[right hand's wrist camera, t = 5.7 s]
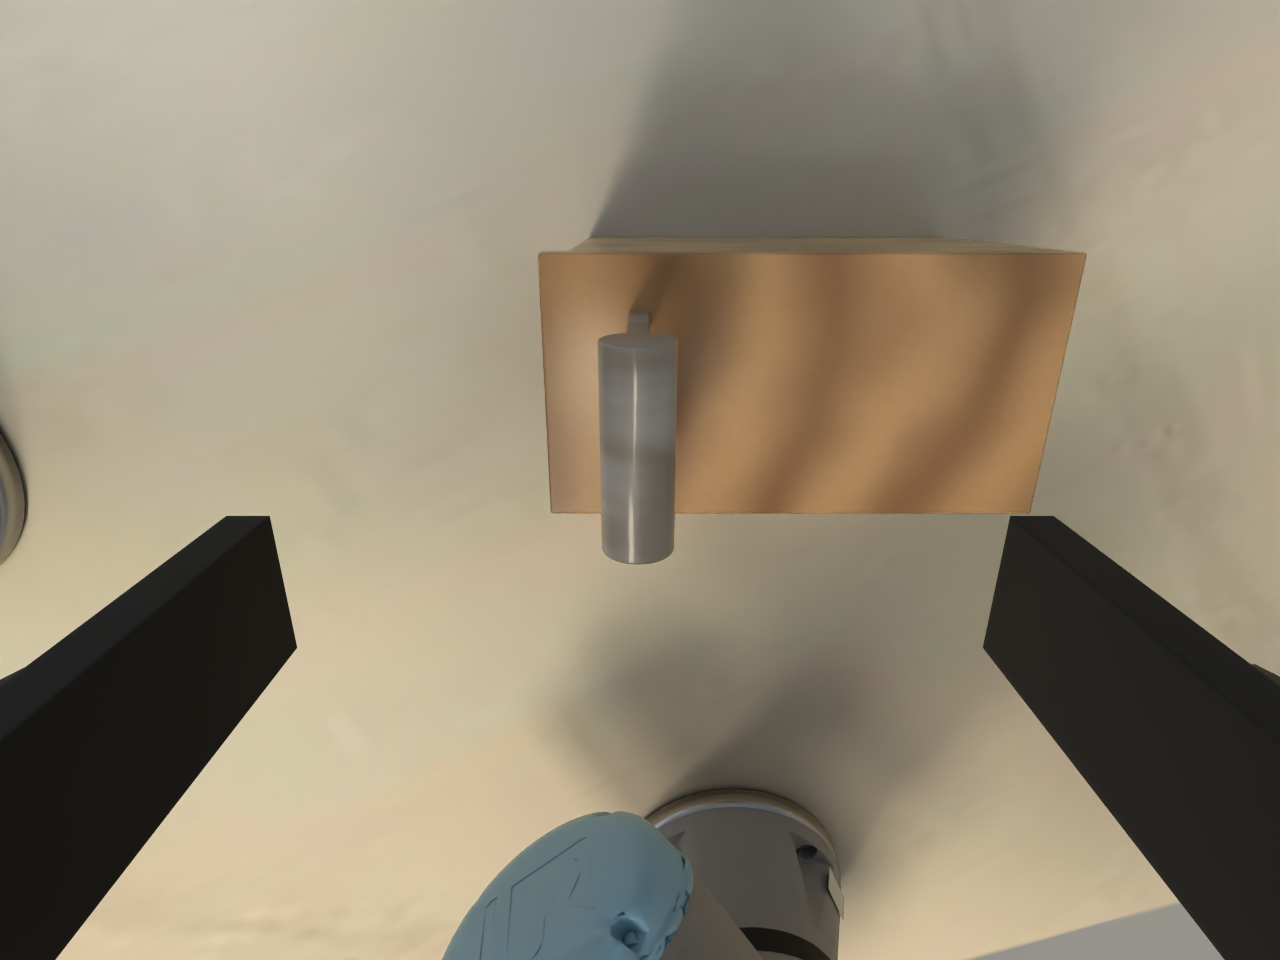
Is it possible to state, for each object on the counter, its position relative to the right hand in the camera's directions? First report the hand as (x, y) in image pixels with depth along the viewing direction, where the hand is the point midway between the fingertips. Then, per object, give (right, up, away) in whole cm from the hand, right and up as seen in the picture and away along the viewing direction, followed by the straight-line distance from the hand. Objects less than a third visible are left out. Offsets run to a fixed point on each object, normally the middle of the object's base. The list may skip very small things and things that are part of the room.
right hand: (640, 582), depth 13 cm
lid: (+6, +5, +14) cm, 16 cm away
